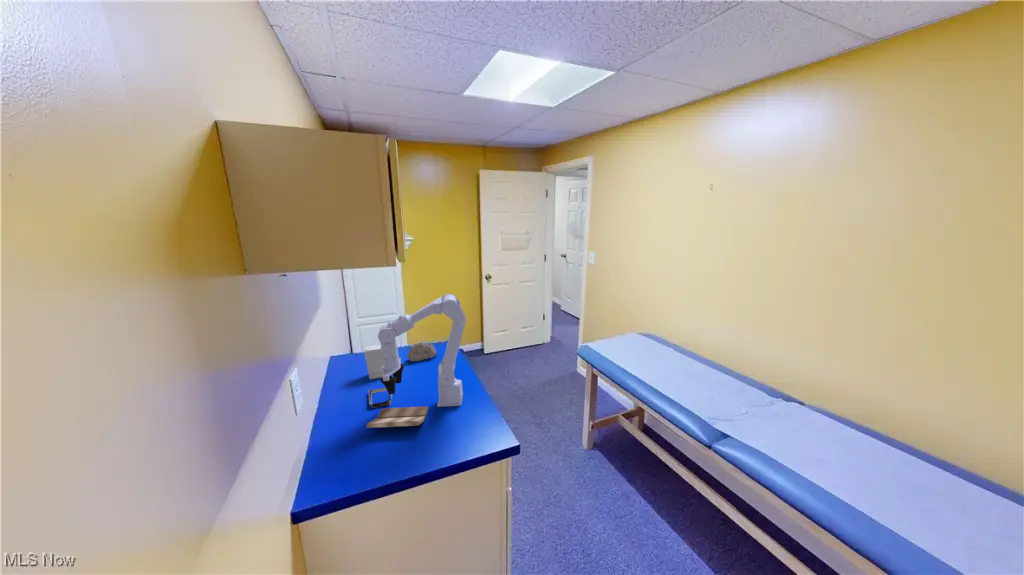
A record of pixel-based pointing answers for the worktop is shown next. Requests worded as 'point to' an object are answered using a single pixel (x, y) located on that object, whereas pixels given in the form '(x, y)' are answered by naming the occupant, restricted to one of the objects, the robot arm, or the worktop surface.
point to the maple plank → (396, 422)
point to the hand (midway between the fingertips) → (395, 388)
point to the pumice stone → (421, 352)
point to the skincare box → (374, 361)
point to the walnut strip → (403, 412)
